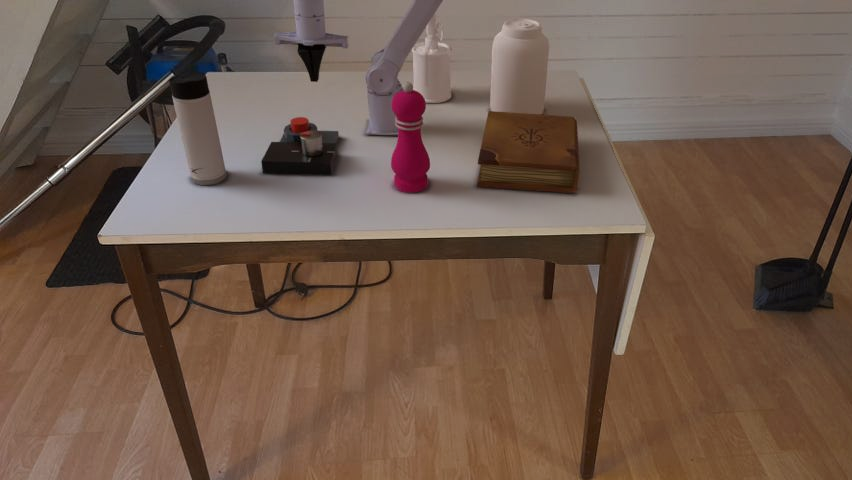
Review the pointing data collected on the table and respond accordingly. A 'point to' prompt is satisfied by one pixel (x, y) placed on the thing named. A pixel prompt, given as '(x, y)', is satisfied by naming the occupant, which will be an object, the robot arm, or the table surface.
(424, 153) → the pepper mill
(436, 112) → the table surface
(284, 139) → the button box
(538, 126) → the diary
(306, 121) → the stop button
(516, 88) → the can
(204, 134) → the travel mug
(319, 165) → the panel
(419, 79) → the white oil can
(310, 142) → the burner knob
